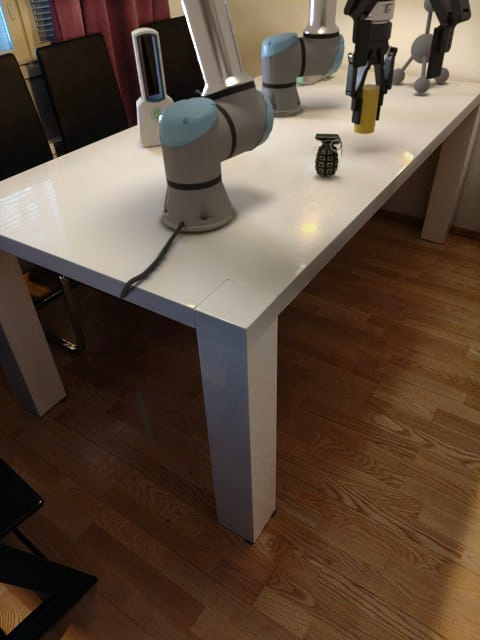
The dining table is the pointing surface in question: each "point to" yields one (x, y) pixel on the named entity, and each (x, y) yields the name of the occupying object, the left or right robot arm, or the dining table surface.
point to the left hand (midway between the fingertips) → (394, 71)
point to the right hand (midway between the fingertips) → (365, 121)
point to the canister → (368, 109)
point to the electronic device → (146, 104)
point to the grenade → (327, 155)
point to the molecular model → (421, 57)
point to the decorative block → (310, 79)
